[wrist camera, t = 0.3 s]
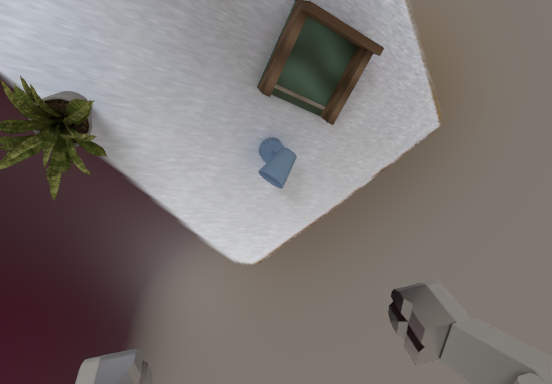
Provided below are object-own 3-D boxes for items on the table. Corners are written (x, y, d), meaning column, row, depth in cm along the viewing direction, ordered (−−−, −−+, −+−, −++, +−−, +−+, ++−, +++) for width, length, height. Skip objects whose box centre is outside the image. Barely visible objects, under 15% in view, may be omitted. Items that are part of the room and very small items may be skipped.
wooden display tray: (324, 117, 61) (337, 129, 56) (257, 87, 54) (266, 97, 49) (364, 42, 55) (384, 48, 50) (296, -1, 49) (310, 1, 44)
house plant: (52, 23, 42) (1, 42, 29) (145, 96, 50) (138, 136, 37) (-8, 104, 45) (-78, 154, 32) (89, 161, 53) (65, 221, 40)
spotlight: (263, 171, 63) (290, 146, 62) (278, 198, 55) (309, 171, 54) (246, 155, 60) (274, 129, 59) (259, 181, 52) (292, 152, 51)
